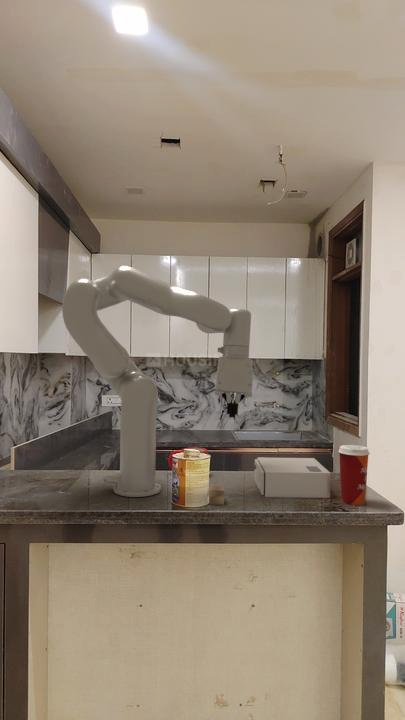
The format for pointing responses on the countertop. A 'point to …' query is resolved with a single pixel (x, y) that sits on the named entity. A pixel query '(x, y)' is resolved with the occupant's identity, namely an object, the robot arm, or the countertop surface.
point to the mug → (183, 450)
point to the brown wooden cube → (216, 495)
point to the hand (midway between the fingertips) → (232, 416)
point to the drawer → (259, 477)
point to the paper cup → (353, 473)
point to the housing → (295, 477)
